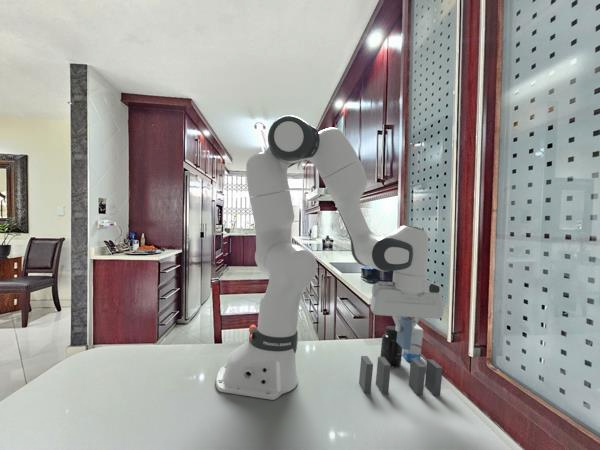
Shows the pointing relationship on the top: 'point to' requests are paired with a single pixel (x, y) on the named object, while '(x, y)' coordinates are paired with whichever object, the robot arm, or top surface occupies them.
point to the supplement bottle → (391, 347)
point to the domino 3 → (405, 333)
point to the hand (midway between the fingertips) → (404, 331)
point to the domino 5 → (433, 377)
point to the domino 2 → (383, 375)
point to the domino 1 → (366, 374)
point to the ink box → (414, 345)
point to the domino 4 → (417, 376)
